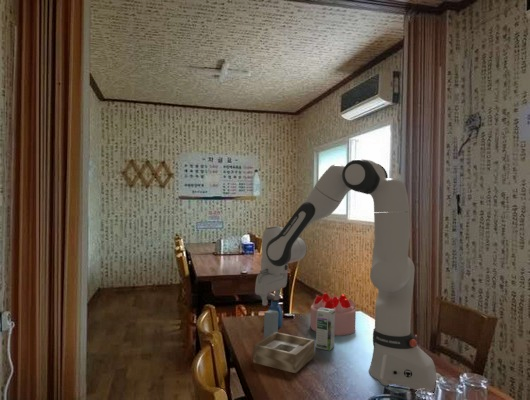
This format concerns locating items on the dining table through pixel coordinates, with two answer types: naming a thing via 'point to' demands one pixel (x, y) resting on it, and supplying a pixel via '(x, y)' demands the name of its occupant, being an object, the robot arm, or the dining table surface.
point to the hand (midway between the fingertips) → (270, 302)
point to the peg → (270, 322)
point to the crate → (284, 352)
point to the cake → (336, 313)
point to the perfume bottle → (277, 308)
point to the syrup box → (325, 328)
